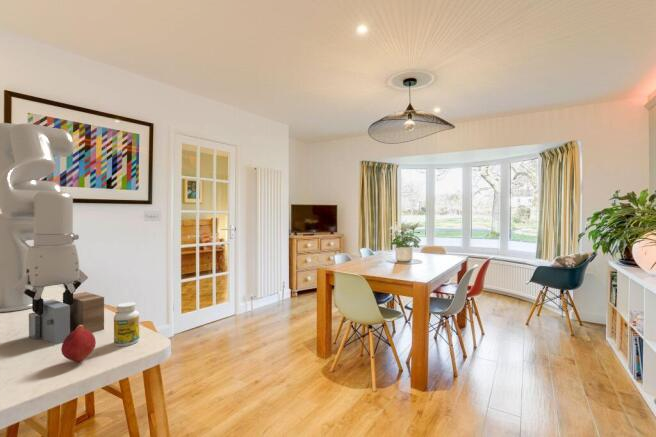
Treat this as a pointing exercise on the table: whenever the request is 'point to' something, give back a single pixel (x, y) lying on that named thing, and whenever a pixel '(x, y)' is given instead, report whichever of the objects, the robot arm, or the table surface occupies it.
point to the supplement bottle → (126, 324)
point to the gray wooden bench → (34, 326)
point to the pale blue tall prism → (55, 321)
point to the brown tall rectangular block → (87, 312)
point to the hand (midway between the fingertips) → (53, 310)
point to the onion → (78, 344)
